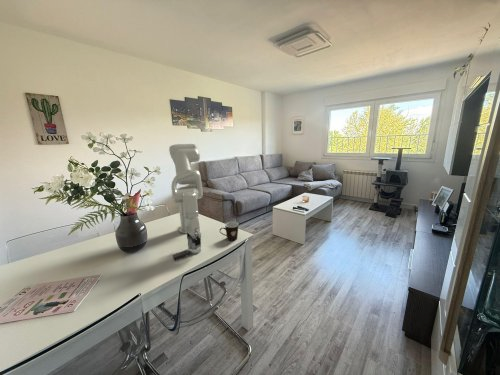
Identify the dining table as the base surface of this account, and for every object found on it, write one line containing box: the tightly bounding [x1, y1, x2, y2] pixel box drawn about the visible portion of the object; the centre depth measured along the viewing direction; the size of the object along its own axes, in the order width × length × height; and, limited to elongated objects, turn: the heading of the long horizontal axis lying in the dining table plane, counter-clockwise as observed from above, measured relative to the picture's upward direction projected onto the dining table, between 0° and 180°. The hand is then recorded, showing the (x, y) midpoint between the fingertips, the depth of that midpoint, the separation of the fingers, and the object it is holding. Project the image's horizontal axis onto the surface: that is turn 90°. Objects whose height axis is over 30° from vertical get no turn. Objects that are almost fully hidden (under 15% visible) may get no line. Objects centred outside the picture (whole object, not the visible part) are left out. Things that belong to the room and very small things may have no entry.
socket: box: [187, 235, 202, 250], centre depth 118 cm, size 5×5×6 cm
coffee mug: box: [219, 221, 239, 242], centre depth 132 cm, size 12×9×10 cm
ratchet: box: [172, 245, 202, 262], centre depth 116 cm, size 7×16×7 cm, turn 132°
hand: (193, 241), depth 118 cm, fingers open, 9 cm apart
